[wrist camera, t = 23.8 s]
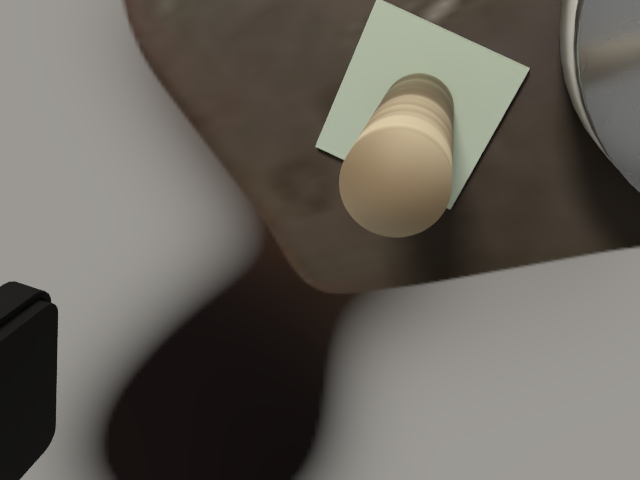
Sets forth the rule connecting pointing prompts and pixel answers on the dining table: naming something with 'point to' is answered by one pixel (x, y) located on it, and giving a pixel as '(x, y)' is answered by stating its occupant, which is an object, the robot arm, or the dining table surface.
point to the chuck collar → (611, 78)
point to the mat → (430, 58)
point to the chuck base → (572, 62)
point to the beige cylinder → (402, 160)
